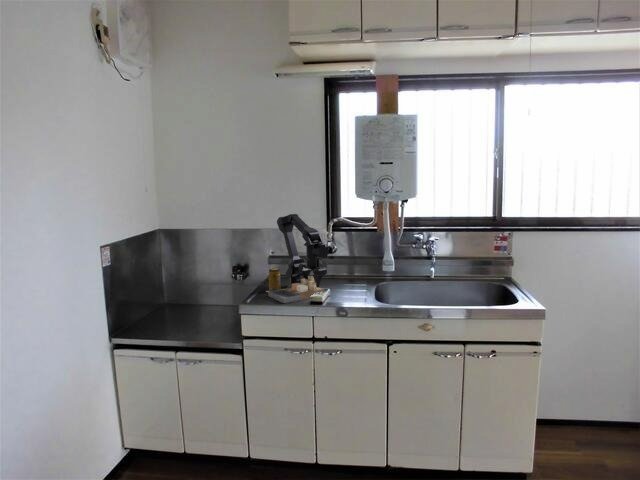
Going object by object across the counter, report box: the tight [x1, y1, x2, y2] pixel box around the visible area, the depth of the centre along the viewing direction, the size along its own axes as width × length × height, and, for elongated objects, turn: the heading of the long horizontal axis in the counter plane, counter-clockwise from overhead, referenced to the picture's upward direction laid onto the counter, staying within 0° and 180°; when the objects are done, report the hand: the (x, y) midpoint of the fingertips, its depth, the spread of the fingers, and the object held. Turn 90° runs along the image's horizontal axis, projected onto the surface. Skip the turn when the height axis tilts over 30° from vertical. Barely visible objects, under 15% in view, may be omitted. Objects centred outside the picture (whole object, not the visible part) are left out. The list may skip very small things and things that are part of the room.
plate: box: [284, 286, 325, 301], centre depth 228 cm, size 14×14×3 cm
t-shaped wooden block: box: [301, 274, 317, 291], centre depth 230 cm, size 12×5×6 cm, turn 33°
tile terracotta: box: [292, 283, 302, 290], centre depth 228 cm, size 4×4×2 cm
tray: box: [268, 288, 302, 304], centre depth 222 cm, size 16×9×2 cm, turn 33°
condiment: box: [265, 267, 282, 294], centre depth 234 cm, size 7×8×12 cm
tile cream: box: [297, 285, 308, 292], centre depth 224 cm, size 4×4×2 cm
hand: (312, 285), depth 231 cm, fingers open, 9 cm apart
